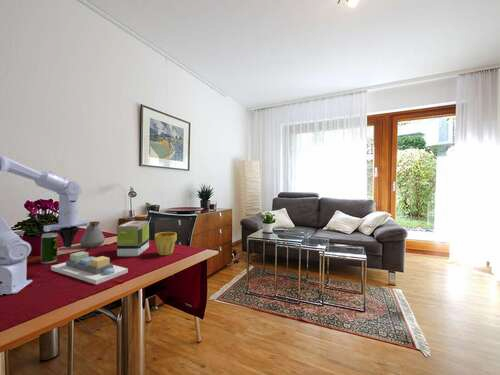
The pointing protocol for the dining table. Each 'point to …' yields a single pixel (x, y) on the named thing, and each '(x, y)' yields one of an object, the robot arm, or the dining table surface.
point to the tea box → (132, 238)
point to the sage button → (78, 256)
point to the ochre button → (99, 262)
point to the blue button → (86, 260)
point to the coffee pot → (92, 236)
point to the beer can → (49, 248)
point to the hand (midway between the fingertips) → (67, 246)
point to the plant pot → (165, 242)
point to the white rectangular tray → (89, 271)
